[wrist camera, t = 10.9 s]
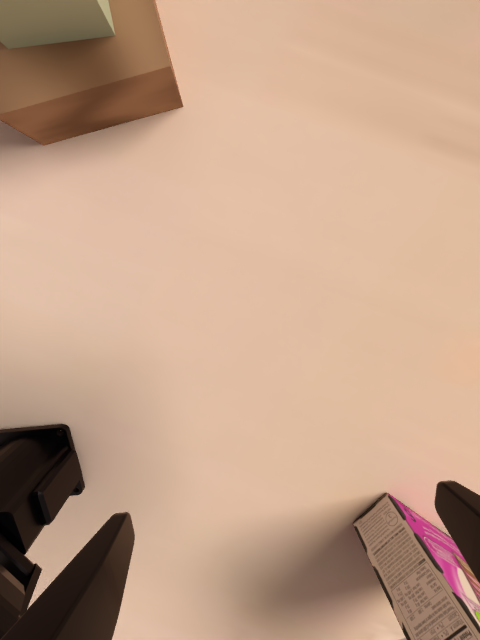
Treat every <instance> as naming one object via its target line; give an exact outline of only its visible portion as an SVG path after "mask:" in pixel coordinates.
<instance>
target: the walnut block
mask: <svg viewBox="0 0 480 640" xmlns="http://www.w3.org/2000/svg"><path fill="white" fill-rule="evenodd" d="M108 2H109V7H110V12H111V17H112V22H113V27H114V32H115V36H108V37H100V38H92V39H85V40H77V41H69V42H60V43H52V44H44V45H36V46H28V47H20V48H12V49H8V48H7V47H6V46H5V45H4V44H3V43H1V42H0V120H1V121H3V122H5V123H7V124H8V125H10V126H12V127H13V128H15V129H17V130H19V131H20V132H22V133H24V134H25V135H27V136H29V137H30V138H32V139H34V140H36V141H37V142H39V143H41V144H42V145H47V144H50V143H54V142H58V141H61V140H65V139H68V138H72V137H76V136H79V135H83V134H86V133H90V132H94V131H97V130H101V129H104V128H108V127H112V126H115V125H119V124H122V123H126V122H129V121H133V120H137V119H140V118H144V117H147V116H151V115H155V114H158V113H162V112H165V111H169V110H173V109H176V108H180V107H183V104H182V100H181V96H180V93H179V89H178V85H177V81H176V78H175V74H174V70H173V66H172V62H171V59H170V55H169V51H168V47H167V44H166V40H165V36H164V32H163V29H162V25H161V21H160V17H159V14H158V10H157V6H156V2H155V0H108Z"/></svg>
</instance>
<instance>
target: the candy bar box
mask: <svg viewBox="0 0 480 640" xmlns="http://www.w3.org/2000/svg"><path fill="white" fill-rule="evenodd" d="M353 526H354V528H355V530H356V532H357V534H358V536H359V538H360V540H361V542H362V545H363V547H364V549H365V551H366V553H367V556H368V558H369V560H370V562H371V564H372V566H373V568H374V570H375V573H376V575H377V577H378V579H379V581H380V584H381V586H382V588H383V590H384V592H385V594H386V596H387V598H388V600H389V602H390V605H391V607H392V609H393V611H394V613H395V615H396V617H397V620H398V622H399V624H400V626H401V628H402V630H403V633H404V635H405V637H406V639H407V640H480V584H479V582H478V580H477V579H476V577H475V576H474V574H473V573H472V571H471V569H470V568H469V566H468V564H467V563H466V561H465V559H464V558H463V556H462V554H461V552H460V551H459V549H458V547H457V546H456V544H455V542H454V541H453V539H452V538H451V537H449V536H448V535H447V534H445V533H444V532H442V531H441V530H439V529H438V528H436V527H435V526H433V525H432V524H431V523H429V522H428V521H427V520H425V519H424V518H422V517H421V516H419V515H418V514H417V513H415V512H414V511H412V510H411V509H410V508H408V507H407V506H405V505H404V504H403V503H401V502H400V501H398V500H397V499H395V498H394V497H393V496H391V495H390V494H389V493H387V494H385V495H384V496H382V497H381V498H380V499H379V500H377V501H376V503H375V504H374V505H373V506H372V507H371V508H370V509H369V510H368V511H367V512H365V513H364V514H363V515H362V516H361V517H360V518H359V519H358V520H357V521H356V522H354V524H353Z"/></svg>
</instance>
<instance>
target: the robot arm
mask: <svg viewBox="0 0 480 640" xmlns="http://www.w3.org/2000/svg"><path fill="white" fill-rule="evenodd" d="M60 430H61V431H63V432H61V431H60ZM84 488H85V484H84V481H83V477H82V472H81V468H80V464H79V460H78V457H77V453H76V451H75V447H74V444H73V440H72V436H71V432H70V429H69V427H68V426H67V425H64V424H59V425H48V426H37V427H26V428H15V429H4V430H0V640H112V637H113V633H114V630H115V626H116V623H117V619H118V615H119V611H120V607H121V602H122V598H123V593H124V588H125V584H126V579H127V574H128V570H129V565H130V560H131V555H132V551H133V546H134V540H135V534H134V529H133V525H132V520H131V516H130V514H129V513H128V512H125V513H116V514H114V515H113V516H111V518H110V519H109V520H108V521H107V522H106V523H105V524H104V525H103V526H102V528H101V529H100V530H99V531H98V532H97V533H96V534H95V535H94V536H93V537H92V539H91V540H90V541H89V542H88V543H87V544H86V545H85V546H84V547H83V549H82V550H81V551H80V552H79V553H78V554H77V555H76V556H75V557H74V559H73V560H72V561H71V562H70V563H69V564H68V565H67V566H66V567H65V569H64V570H63V571H62V572H61V573H60V574H59V575H58V576H57V577H56V578H55V580H54V581H53V582H52V583H51V584H50V585H49V586H48V587H47V588H46V590H45V591H44V592H43V593H42V594H41V595H40V596H39V597H38V598H37V600H36V601H35V602H34V603H33V604H32V605H31V606H30V607H29V608H28V605H29V602H30V600H31V597H32V595H33V592H34V589H35V587H36V584H37V581H38V579H39V576H40V573H41V571H42V569H41V568H40V567H39V566H38V565H37V564H33V563H32V562H31V561H30V560H29V559H28V558H27V557H26V556H25V554H26V552H27V551H28V549H29V548H30V547H31V545H32V544H33V542H34V541H35V539H36V538H37V536H38V535H39V533H40V532H41V530H42V529H43V527H44V526H45V525H49V524H50V523H51V522H52V521H53V520H54V518H55V517H56V515H57V514H58V512H59V511H60V509H61V508H62V506H63V505H64V503H65V502H66V500H67V498H68V497H69V496H72V495H79V494H81V493H82V491H83V490H84ZM435 508H436V511H437V513H438V515H439V517H440V518H441V520H442V522H443V523H444V525H445V527H446V529H447V530H448V532H449V534H450V535H451V537H452V539H453V541H454V542H455V544H456V546H457V547H458V549H459V551H460V552H461V554H462V556H463V558H464V559H465V561H466V563H467V564H468V566H469V568H470V569H471V571H472V573H473V574H474V576H475V577H476V579H477V580H478V582H479V584H480V495H478V494H476V493H475V492H473V491H471V490H469V489H468V488H466V487H464V486H462V485H461V484H459V483H457V482H455V481H441V482H439V483H438V484H437V488H436V496H435ZM27 608H28V610H27ZM26 610H27V611H26Z"/></svg>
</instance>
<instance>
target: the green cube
mask: <svg viewBox="0 0 480 640" xmlns="http://www.w3.org/2000/svg"><path fill="white" fill-rule="evenodd" d="M108 36H115V32H114V27H113V22H112V17H111V12H110V7H109V2H108V0H0V42H1V43H3V44H4V45H5V46H6V47H7V48H8V49H12V48H20V47H28V46H36V45H44V44H52V43H60V42H69V41H77V40H85V39H92V38H100V37H108Z"/></svg>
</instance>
